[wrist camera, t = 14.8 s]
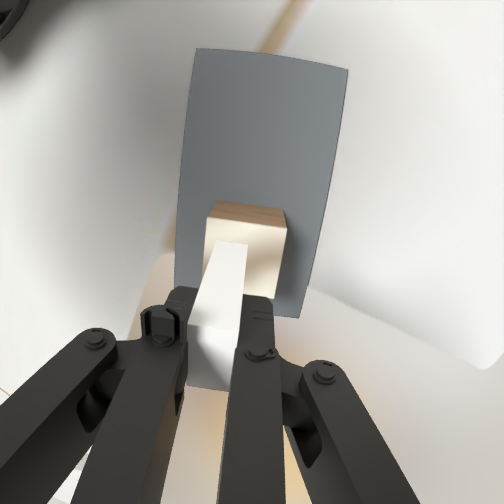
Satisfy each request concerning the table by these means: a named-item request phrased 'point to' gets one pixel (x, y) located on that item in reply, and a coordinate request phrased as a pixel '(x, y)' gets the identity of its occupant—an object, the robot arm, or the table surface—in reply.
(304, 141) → the rubber mat
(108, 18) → the table surface
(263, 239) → the light wooden block
